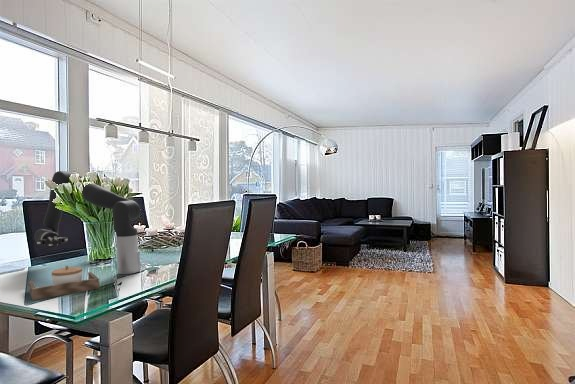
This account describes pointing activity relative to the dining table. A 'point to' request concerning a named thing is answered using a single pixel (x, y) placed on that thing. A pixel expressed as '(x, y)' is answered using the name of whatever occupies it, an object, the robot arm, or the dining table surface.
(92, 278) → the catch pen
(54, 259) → the dining table surface
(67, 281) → the lidded jar
